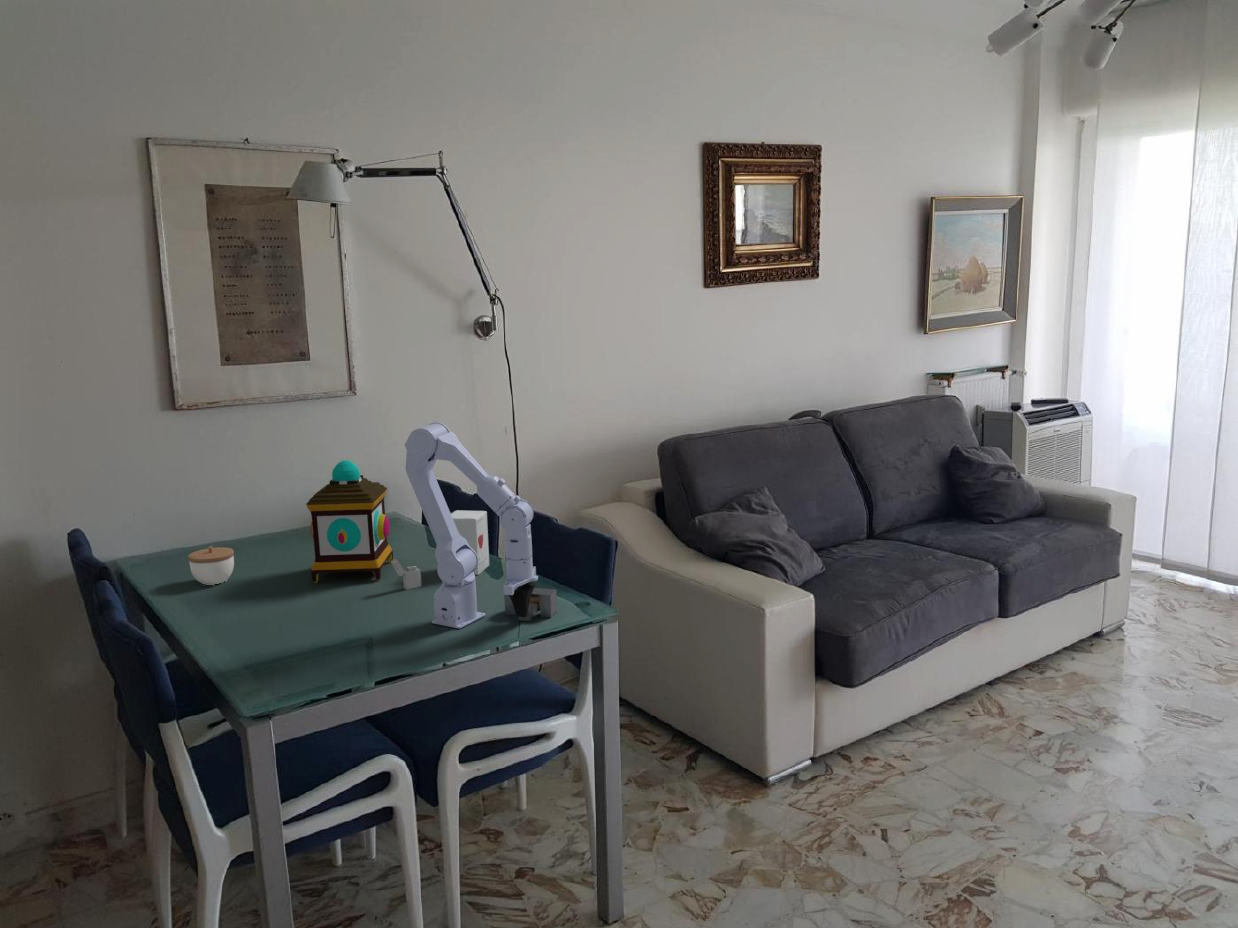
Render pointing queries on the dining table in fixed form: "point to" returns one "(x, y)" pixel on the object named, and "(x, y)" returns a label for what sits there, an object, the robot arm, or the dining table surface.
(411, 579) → the lighter
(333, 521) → the decorative lantern
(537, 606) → the plug
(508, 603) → the housing
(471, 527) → the supplement box
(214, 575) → the lidded jar
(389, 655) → the dining table surface
